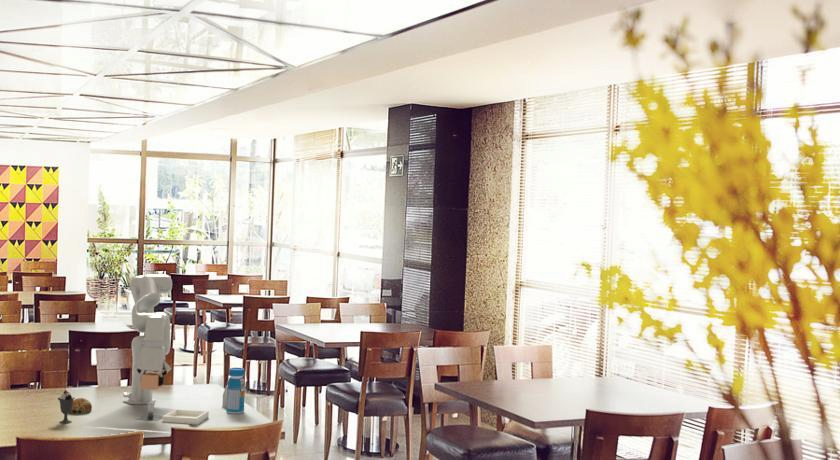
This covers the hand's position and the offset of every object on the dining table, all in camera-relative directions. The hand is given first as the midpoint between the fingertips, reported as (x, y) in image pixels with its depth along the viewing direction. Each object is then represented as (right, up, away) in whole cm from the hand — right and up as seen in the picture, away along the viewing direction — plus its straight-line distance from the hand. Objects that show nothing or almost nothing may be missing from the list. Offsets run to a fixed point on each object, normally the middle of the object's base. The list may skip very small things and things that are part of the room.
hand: (151, 384), depth 355 cm
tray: (+15, -16, 0) cm, 22 cm away
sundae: (-32, -14, -12) cm, 37 cm away
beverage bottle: (+31, -17, +21) cm, 41 cm away
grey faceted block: (+27, -17, +30) cm, 44 cm away
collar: (0, -1, 0) cm, 1 cm away
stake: (0, -15, -1) cm, 15 cm away
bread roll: (-35, -14, +8) cm, 38 cm away
